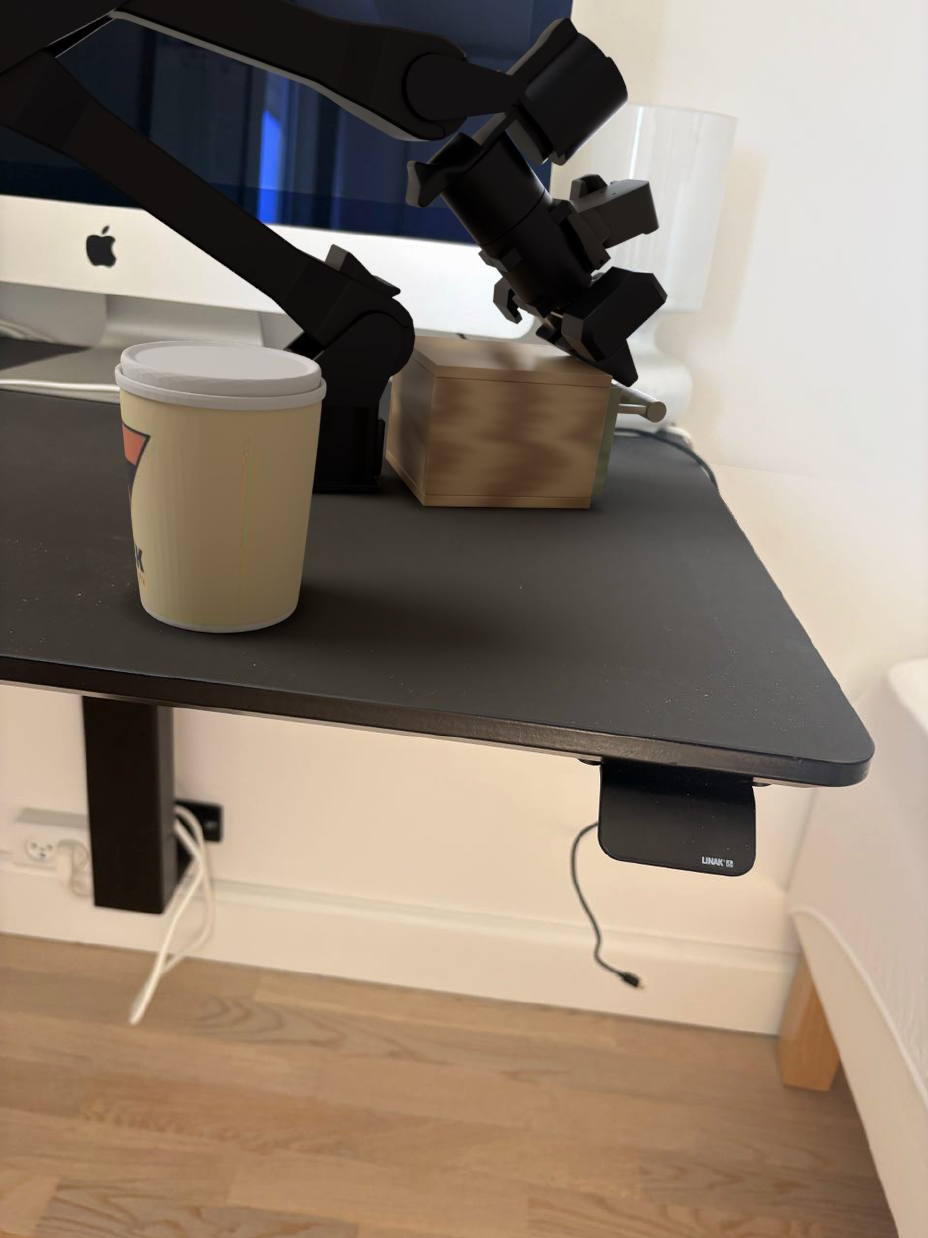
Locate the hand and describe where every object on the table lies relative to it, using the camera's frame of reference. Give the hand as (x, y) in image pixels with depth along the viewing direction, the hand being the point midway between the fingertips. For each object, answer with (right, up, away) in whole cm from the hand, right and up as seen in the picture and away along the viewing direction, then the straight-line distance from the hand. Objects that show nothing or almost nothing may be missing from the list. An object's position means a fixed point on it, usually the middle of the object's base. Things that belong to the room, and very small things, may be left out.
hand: (631, 382), depth 73 cm
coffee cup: (-25, -17, -25) cm, 39 cm away
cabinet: (-11, -8, 0) cm, 14 cm away
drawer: (-7, -7, +1) cm, 10 cm away
